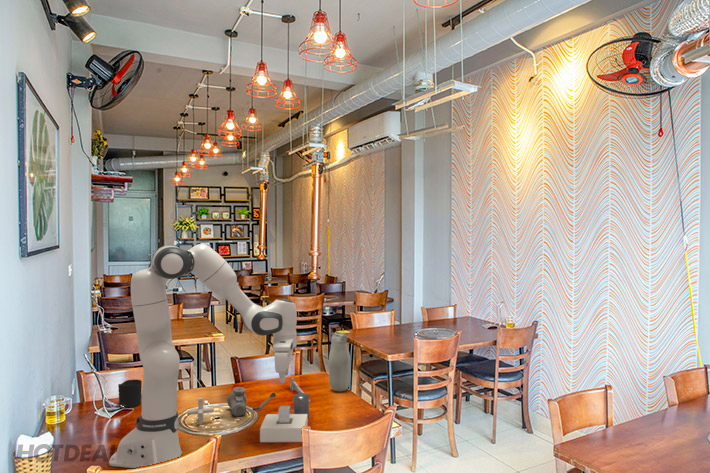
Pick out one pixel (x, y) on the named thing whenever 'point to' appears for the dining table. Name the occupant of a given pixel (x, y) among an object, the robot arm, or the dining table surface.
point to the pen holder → (130, 393)
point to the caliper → (295, 386)
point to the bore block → (282, 428)
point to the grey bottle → (339, 363)
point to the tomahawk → (265, 402)
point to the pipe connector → (200, 411)
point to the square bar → (285, 415)
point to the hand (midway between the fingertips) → (284, 378)
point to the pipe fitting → (237, 401)
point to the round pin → (301, 404)
